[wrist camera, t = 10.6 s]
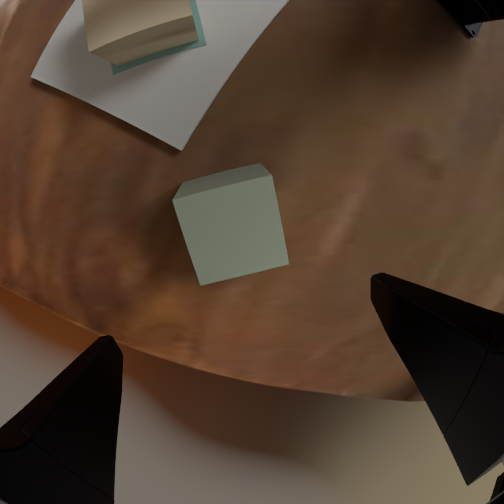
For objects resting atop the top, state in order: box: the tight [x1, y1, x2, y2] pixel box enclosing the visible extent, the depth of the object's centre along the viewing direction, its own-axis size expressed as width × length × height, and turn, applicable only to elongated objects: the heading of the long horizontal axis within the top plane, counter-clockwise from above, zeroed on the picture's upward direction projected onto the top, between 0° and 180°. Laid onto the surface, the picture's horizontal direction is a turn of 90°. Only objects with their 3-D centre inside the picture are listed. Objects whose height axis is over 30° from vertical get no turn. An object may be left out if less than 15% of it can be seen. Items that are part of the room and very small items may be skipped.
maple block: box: [82, 0, 199, 66], centre depth 12 cm, size 6×6×5 cm
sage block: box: [172, 163, 289, 286], centre depth 19 cm, size 6×6×5 cm
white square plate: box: [31, 0, 289, 151], centre depth 14 cm, size 14×14×1 cm
